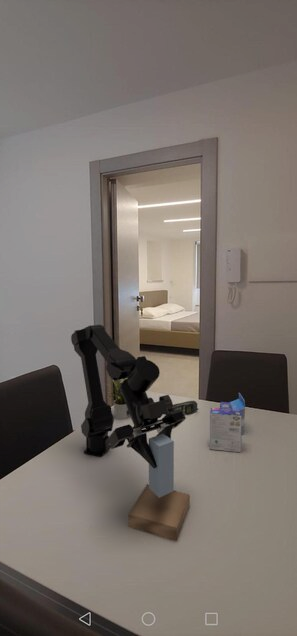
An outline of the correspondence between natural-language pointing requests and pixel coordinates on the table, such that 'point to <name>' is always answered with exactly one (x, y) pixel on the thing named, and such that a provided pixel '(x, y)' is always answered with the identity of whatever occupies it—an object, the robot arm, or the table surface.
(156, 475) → the slate block
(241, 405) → the label tape box
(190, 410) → the mobile phone
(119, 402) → the house plant
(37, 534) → the table surface
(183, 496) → the walnut block
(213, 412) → the ink cartridge box
